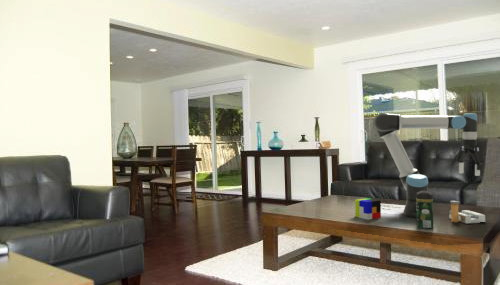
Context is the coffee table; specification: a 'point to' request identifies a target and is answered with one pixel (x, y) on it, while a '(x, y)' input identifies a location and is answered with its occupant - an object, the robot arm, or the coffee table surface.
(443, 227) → the coffee table surface
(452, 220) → the orange cylindrical piece
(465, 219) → the white ridged tray
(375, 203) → the puzzle toy
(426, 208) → the coffee jar
